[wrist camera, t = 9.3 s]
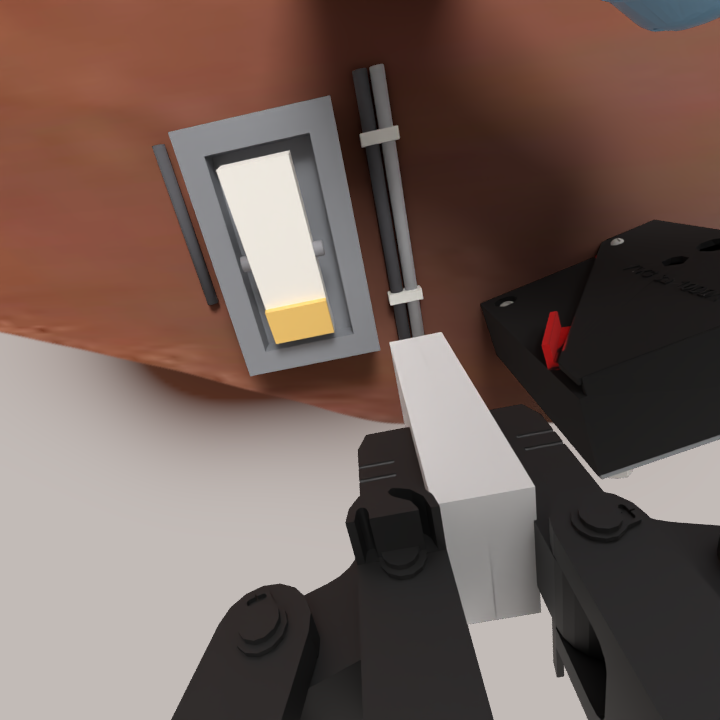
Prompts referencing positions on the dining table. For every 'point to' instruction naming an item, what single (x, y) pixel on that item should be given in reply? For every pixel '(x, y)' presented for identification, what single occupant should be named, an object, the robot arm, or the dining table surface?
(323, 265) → the breaker housing
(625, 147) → the dining table surface
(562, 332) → the electrical component
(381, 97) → the dressed cords
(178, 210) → the dark grey thin bar
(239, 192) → the rocker
